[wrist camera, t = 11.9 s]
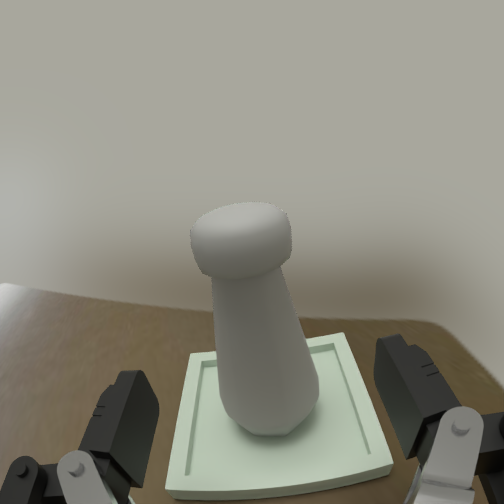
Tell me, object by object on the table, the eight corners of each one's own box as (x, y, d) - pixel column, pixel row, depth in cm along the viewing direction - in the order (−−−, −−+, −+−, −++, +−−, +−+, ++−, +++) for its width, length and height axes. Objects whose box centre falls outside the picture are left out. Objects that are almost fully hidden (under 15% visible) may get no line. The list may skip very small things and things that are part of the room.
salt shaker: (260, 371, 22) (225, 192, 17) (334, 393, 19) (326, 191, 14) (211, 427, 17) (140, 230, 12) (292, 463, 14) (257, 240, 9)
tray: (174, 498, 13) (165, 489, 13) (195, 367, 24) (190, 353, 24) (388, 474, 13) (393, 463, 12) (343, 346, 24) (343, 332, 23)
